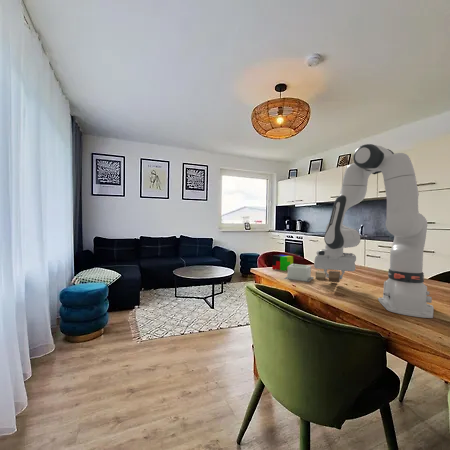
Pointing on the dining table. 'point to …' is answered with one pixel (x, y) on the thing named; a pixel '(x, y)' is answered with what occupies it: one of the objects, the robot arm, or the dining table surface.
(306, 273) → the grey box
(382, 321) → the dining table surface
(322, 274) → the oak cube
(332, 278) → the walnut cube
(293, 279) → the tray
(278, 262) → the puzzle toy
